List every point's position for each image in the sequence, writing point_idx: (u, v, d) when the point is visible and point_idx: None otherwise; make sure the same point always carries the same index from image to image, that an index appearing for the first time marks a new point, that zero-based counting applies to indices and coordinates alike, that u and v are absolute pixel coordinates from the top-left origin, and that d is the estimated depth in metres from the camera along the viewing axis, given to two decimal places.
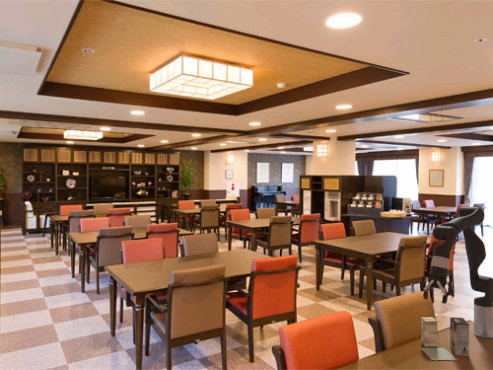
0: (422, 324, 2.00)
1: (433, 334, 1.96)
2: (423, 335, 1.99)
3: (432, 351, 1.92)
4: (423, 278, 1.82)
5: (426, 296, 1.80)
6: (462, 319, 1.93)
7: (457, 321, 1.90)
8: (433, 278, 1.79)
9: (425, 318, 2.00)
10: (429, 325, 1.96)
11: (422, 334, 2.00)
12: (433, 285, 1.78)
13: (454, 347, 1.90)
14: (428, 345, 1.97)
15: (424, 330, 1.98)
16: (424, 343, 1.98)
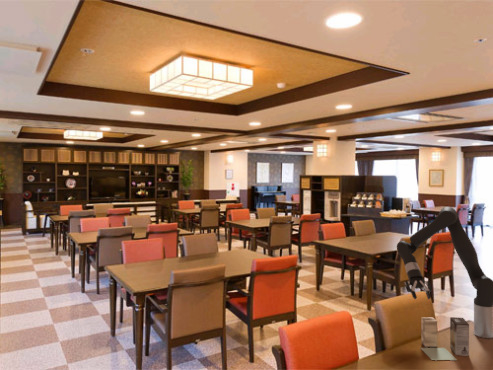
0: (422, 324, 2.00)
1: (433, 334, 1.96)
2: (423, 335, 1.99)
3: (432, 351, 1.92)
4: None
5: (427, 296, 2.08)
6: (462, 319, 1.93)
7: (457, 321, 1.90)
8: None
9: (425, 318, 2.00)
10: (429, 325, 1.96)
11: (422, 334, 2.00)
12: None
13: (454, 347, 1.90)
14: (428, 345, 1.97)
15: (424, 330, 1.98)
16: (424, 343, 1.98)
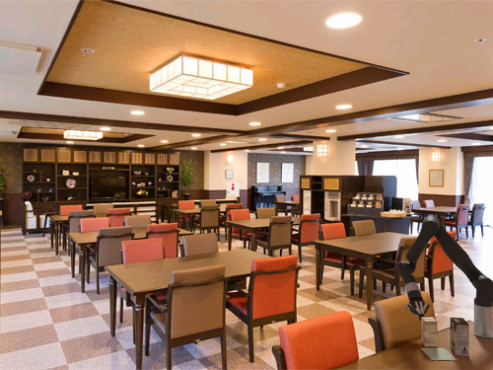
0: (422, 324, 2.00)
1: (433, 334, 1.96)
2: (423, 335, 1.99)
3: (432, 351, 1.92)
4: None
5: None
6: (462, 319, 1.93)
7: (457, 321, 1.90)
8: None
9: (425, 318, 2.00)
10: (429, 325, 1.96)
11: (422, 334, 2.00)
12: None
13: (454, 347, 1.90)
14: (428, 345, 1.97)
15: (424, 330, 1.98)
16: (424, 343, 1.98)
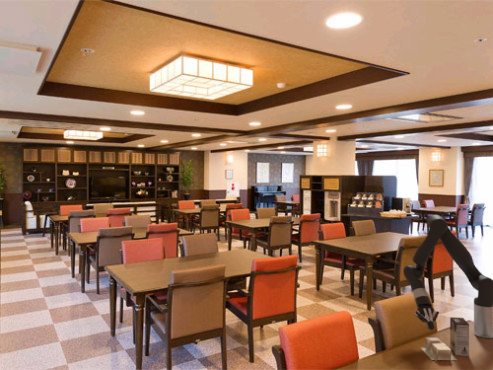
0: (435, 350, 1.86)
1: None
2: (430, 346, 1.91)
3: None
4: None
5: None
6: (462, 319, 1.93)
7: (457, 321, 1.90)
8: None
9: (441, 352, 1.83)
10: None
11: (430, 344, 1.91)
12: None
13: (454, 347, 1.90)
14: None
15: (433, 352, 1.88)
16: (426, 345, 1.95)
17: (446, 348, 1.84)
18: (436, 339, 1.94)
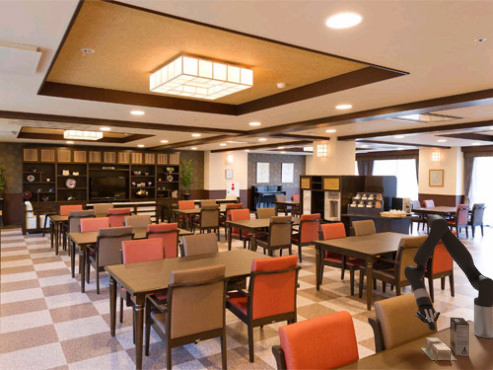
0: (435, 350, 1.86)
1: None
2: (430, 346, 1.91)
3: None
4: None
5: None
6: (462, 319, 1.93)
7: (457, 321, 1.90)
8: None
9: (441, 352, 1.83)
10: None
11: (430, 344, 1.91)
12: None
13: (454, 347, 1.90)
14: None
15: (433, 352, 1.88)
16: (426, 345, 1.95)
17: (446, 348, 1.84)
18: (436, 339, 1.94)
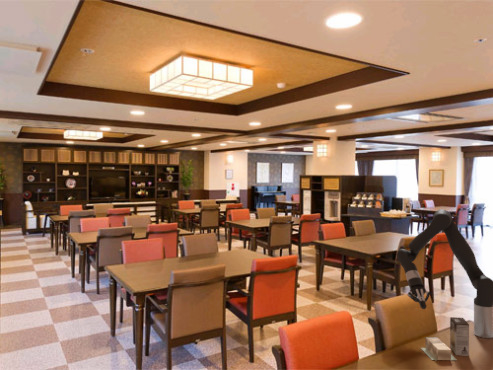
0: (435, 350, 1.86)
1: None
2: (430, 346, 1.91)
3: None
4: None
5: None
6: (462, 319, 1.93)
7: (457, 321, 1.90)
8: None
9: (441, 352, 1.83)
10: None
11: (430, 344, 1.91)
12: None
13: (454, 347, 1.90)
14: None
15: (433, 352, 1.88)
16: (426, 345, 1.95)
17: (446, 348, 1.84)
18: (436, 339, 1.94)
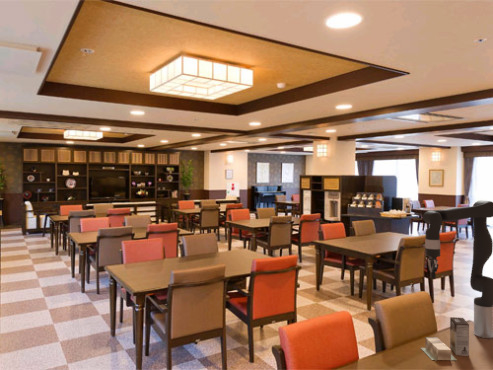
0: (435, 350, 1.86)
1: None
2: (430, 346, 1.91)
3: None
4: (428, 261, 2.14)
5: None
6: (462, 319, 1.93)
7: (457, 321, 1.90)
8: (429, 257, 2.10)
9: (441, 352, 1.83)
10: None
11: (430, 344, 1.91)
12: None
13: (454, 347, 1.90)
14: None
15: (433, 352, 1.88)
16: (426, 345, 1.95)
17: (446, 348, 1.84)
18: (436, 339, 1.94)
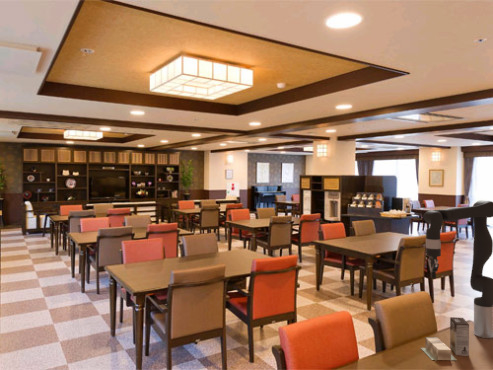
0: (435, 350, 1.86)
1: None
2: (430, 346, 1.91)
3: None
4: (428, 260, 2.13)
5: None
6: (462, 319, 1.93)
7: (457, 321, 1.90)
8: (430, 257, 2.10)
9: (441, 352, 1.83)
10: None
11: (430, 344, 1.91)
12: None
13: (454, 347, 1.90)
14: None
15: (433, 352, 1.88)
16: (426, 345, 1.95)
17: (446, 348, 1.84)
18: (436, 339, 1.94)
